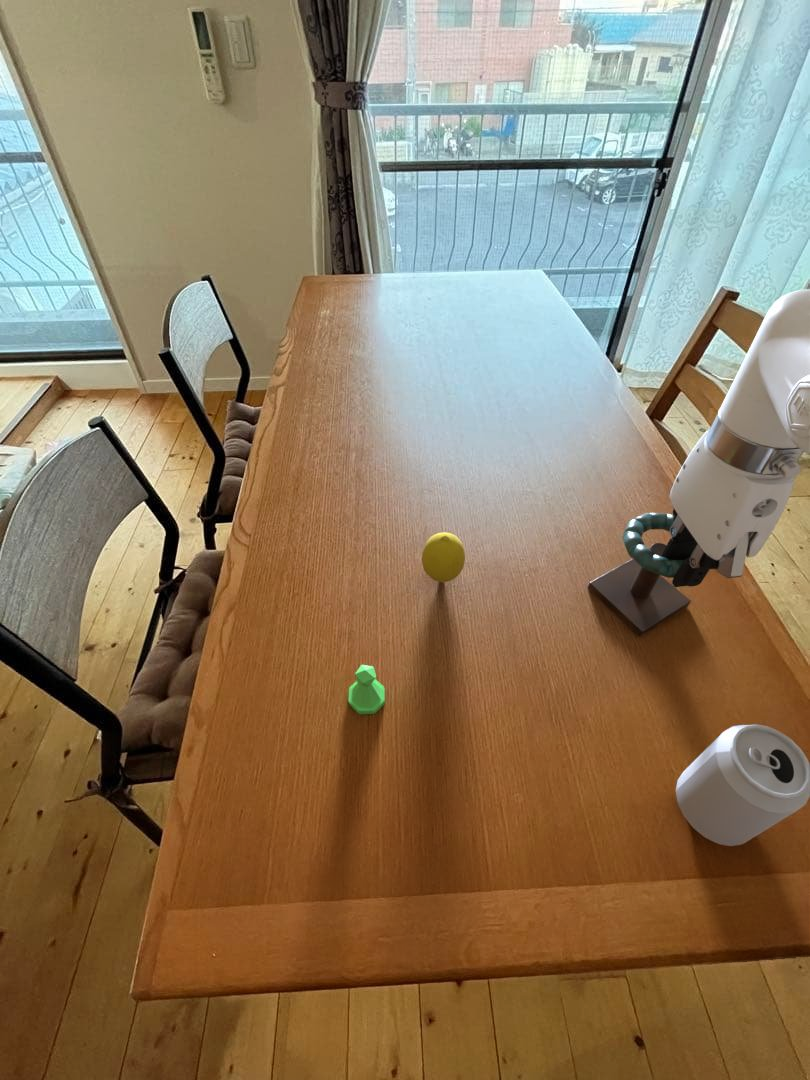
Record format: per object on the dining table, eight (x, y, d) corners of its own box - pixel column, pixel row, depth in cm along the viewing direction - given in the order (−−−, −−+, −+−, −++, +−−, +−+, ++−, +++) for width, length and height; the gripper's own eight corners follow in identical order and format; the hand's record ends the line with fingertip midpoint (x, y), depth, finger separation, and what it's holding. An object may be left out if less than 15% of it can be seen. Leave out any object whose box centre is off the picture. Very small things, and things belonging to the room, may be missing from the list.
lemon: (433, 556, 77) (436, 515, 71) (469, 572, 75) (475, 531, 69) (413, 582, 74) (414, 541, 68) (450, 600, 72) (454, 559, 66)
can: (756, 861, 51) (830, 820, 43) (672, 832, 53) (726, 787, 44) (750, 782, 56) (815, 731, 48) (672, 758, 58) (722, 705, 49)
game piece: (357, 675, 64) (354, 647, 60) (391, 687, 63) (391, 660, 59) (341, 707, 61) (337, 680, 57) (376, 721, 60) (375, 694, 56)
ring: (724, 560, 64) (732, 549, 63) (667, 593, 61) (674, 582, 59) (660, 511, 70) (665, 499, 68) (604, 539, 66) (609, 527, 65)
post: (687, 606, 71) (718, 559, 65) (639, 637, 68) (666, 591, 61) (634, 561, 77) (657, 513, 70) (587, 588, 73) (606, 540, 67)
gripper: (855, 497, 44) (749, 628, 58) (744, 389, 55) (676, 520, 69) (768, 505, 43) (681, 636, 57) (673, 394, 54) (618, 526, 68)
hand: (679, 572), depth 63 cm, fingers closed on ring, 2 cm apart
